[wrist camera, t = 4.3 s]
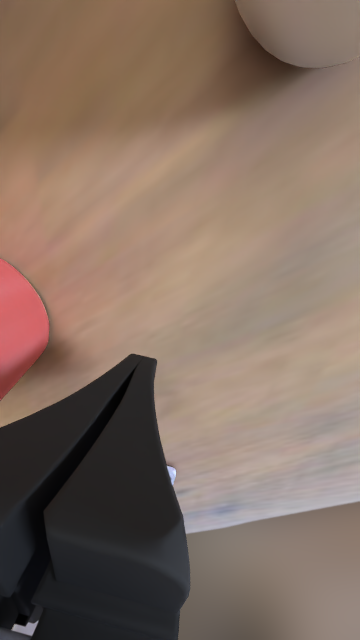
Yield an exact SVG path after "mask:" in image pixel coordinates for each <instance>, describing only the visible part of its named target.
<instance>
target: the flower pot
mask: <svg viewBox="0 0 360 640" xmlns="http://www.w3.org/2000/svg"><path fill="white" fill-rule="evenodd" d="M48 340H49V320H48V316H47V312H46V309H45V307H44V305H43V303H42V301H41V299H40V297H39V295H38V294H37V292H36V291H35V289H34V288H33V287H32V285H31V284H30V283H29V282H28V281H27V279H26V278H25V277H24V276H23V275H22V274H21V273H20V272H19V271H17V270H16V269H15V268H14V267H13V266H11V265H10V264H9V263H7V262H6V261H4V260H2V259H1V258H0V400H1V399H2V398H3V397H4V396H5V395H6V394H7V393H8V392H9V391H10V389H11V388H12V387H13V386H14V385H15V384H16V383H17V382H18V380H19V379H20V378H21V377H22V376H23V375H24V374H25V373H26V371H27V370H28V369H29V368H30V367H31V366H32V365H33V363H34V362H35V361H36V360H37V359H38V358H39V357H40V355H41V354H42V353H43V351H44V350H45V348H46V346H47V344H48Z"/></svg>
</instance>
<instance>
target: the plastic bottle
mask: <svg viewBox="0 0 360 640" xmlns="http://www.w3.org/2000/svg"><path fill="white" fill-rule="evenodd" d="M235 2H236V5H237V8H238V11H239V13H240V15H241V17H242V19H243V21H244V22H245V24H246V26H247V28H248V30H249V31H250V33H251V35H252V36H253V37H254V38H255V39H256V40H257V41H258V42H259V44H260V45H261V46H262V47H263V48H264V49H265V50H266V51H267V52H269V53H270V54H272V55H273V56H275V57H276V58H278V59H279V60H281V61H283V62H286V63H289V64H292V65H295V66H298V67H302V68H326V67H330V66H335V65H340V64H344V63H347V62H349V61H351V60H354V59H356V58H358V57H360V0H235Z"/></svg>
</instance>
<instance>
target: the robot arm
mask: <svg viewBox="0 0 360 640" xmlns="http://www.w3.org/2000/svg"><path fill="white" fill-rule="evenodd" d="M156 366H157V360H156V359H154V358H149V357H145V356H141V355H136V354H130V355H129V356H128V357H126V358H125V359H124V360H123V361H121V362H120V363H119V364H117V365H116V366H115V367H113V368H112V369H111V370H109V371H108V372H106V373H105V374H104V375H102V376H101V377H99V378H98V379H96V380H95V381H93V382H92V383H90V384H88V385H87V386H85V387H84V388H82V389H80V390H79V391H77V392H75V393H74V394H72V395H70V396H68V397H66V398H65V399H63V400H61V401H59V402H57V403H55V404H53V405H51V406H49V407H47V408H45V409H42V410H40V411H38V412H36V413H34V414H32V415H30V416H27V417H25V418H23V419H20V420H18V421H15V422H13V423H11V424H8V425H6V426H3V427H1V428H0V640H178V631H179V616H180V609H181V607H182V606H183V604H184V602H185V601H186V599H187V598H188V596H189V591H190V565H189V556H188V547H187V540H186V533H185V527H184V520H183V515H182V512H181V509H180V506H179V503H178V501H177V498H176V494H175V491H174V488H173V483H174V479H175V476H176V470H175V469H174V468H173V467H170V466H167V465H166V461H165V457H164V453H163V449H162V445H161V441H160V436H159V431H158V425H157V419H156V412H155V402H154V378H155V372H156ZM14 624H15V625H14ZM13 625H14V627H13ZM12 627H13V629H12ZM11 629H12V630H11Z"/></svg>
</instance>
